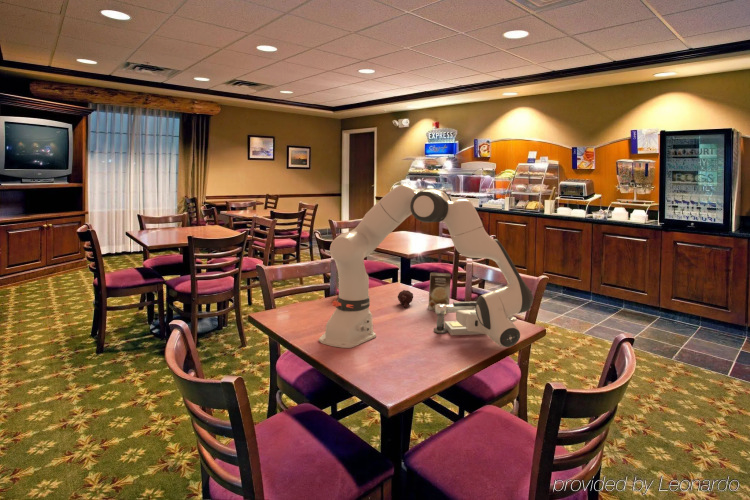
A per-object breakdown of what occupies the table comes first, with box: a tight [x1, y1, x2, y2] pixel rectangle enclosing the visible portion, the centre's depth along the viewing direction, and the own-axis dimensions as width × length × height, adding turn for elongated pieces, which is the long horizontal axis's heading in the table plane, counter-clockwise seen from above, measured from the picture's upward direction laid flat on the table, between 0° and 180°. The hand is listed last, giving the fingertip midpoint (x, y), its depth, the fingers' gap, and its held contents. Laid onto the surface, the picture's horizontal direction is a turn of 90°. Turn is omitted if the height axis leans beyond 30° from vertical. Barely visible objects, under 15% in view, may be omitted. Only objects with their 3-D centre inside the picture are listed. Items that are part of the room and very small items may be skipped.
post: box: [433, 313, 448, 334], centre depth 171 cm, size 5×5×7 cm
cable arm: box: [434, 300, 477, 315], centre depth 171 cm, size 22×4×4 cm, turn 98°
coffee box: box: [427, 272, 452, 311], centre depth 199 cm, size 9×6×16 cm
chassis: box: [444, 320, 484, 336], centre depth 173 cm, size 14×9×3 cm, turn 98°
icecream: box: [397, 289, 414, 309], centre depth 207 cm, size 7×7×15 cm
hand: (476, 310), depth 170 cm, fingers closed
